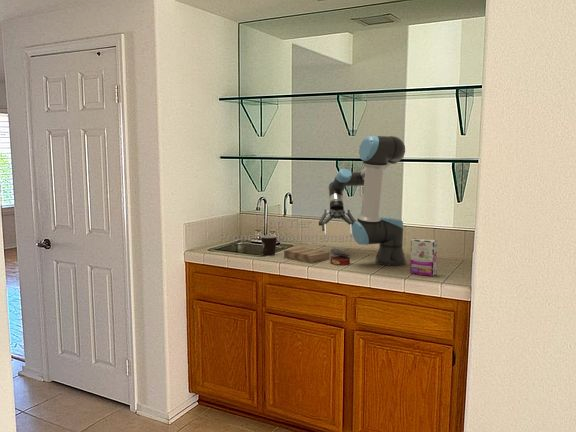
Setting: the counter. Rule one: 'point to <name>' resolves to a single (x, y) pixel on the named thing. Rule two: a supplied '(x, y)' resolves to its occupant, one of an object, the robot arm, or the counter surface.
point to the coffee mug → (269, 245)
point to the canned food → (340, 257)
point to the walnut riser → (306, 255)
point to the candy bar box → (423, 257)
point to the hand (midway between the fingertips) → (338, 235)
